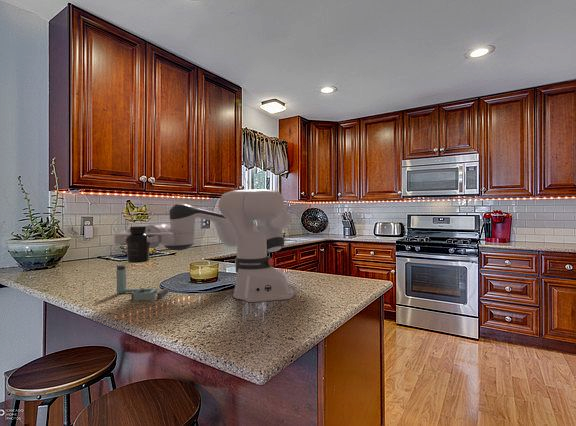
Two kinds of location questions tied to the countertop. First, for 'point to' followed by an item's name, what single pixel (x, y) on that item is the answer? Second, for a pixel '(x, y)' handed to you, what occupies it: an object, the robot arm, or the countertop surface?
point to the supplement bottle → (137, 245)
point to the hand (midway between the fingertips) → (136, 240)
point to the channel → (159, 294)
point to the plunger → (136, 296)
